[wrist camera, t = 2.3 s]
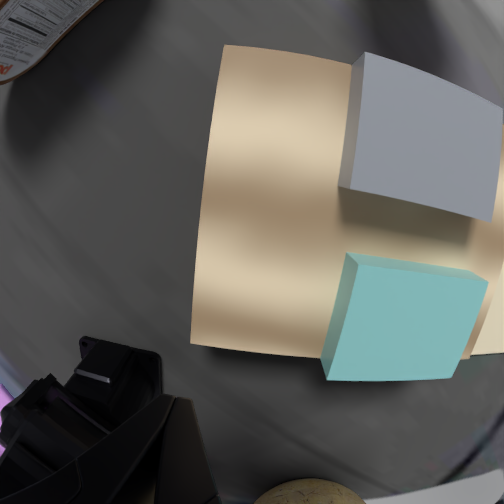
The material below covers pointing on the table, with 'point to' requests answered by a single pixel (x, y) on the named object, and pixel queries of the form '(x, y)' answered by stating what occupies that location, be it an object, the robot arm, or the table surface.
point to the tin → (35, 31)
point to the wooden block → (304, 211)
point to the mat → (493, 323)
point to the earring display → (3, 397)
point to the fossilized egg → (309, 493)
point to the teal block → (399, 320)
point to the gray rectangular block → (420, 139)
